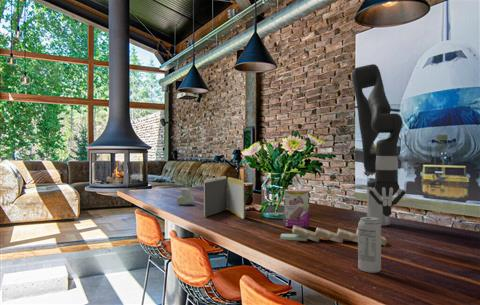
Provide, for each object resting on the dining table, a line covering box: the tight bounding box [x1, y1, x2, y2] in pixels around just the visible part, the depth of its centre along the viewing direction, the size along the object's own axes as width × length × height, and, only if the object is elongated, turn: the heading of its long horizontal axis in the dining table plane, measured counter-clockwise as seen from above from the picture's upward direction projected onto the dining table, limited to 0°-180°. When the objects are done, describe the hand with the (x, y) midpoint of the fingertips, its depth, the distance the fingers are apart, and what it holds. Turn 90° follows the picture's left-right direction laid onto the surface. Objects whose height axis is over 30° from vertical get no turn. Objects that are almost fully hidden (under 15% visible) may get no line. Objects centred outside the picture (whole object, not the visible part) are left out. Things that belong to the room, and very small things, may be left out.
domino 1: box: [279, 233, 308, 242], centre depth 140 cm, size 2×5×10 cm
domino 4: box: [336, 228, 358, 243], centre depth 136 cm, size 2×5×10 cm
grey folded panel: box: [203, 175, 247, 219], centre depth 197 cm, size 35×22×20 cm, turn 18°
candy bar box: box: [283, 189, 310, 229], centre depth 164 cm, size 11×5×16 cm, turn 84°
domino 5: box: [355, 227, 388, 246], centre depth 134 cm, size 2×5×10 cm
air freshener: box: [176, 188, 195, 206], centre depth 234 cm, size 11×8×10 cm
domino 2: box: [291, 226, 321, 243], centre depth 138 cm, size 2×5×10 cm
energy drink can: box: [357, 216, 382, 274], centre depth 102 cm, size 6×6×15 cm
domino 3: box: [314, 227, 344, 244], centre depth 138 cm, size 2×5×10 cm
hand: (386, 216), depth 133 cm, fingers closed
